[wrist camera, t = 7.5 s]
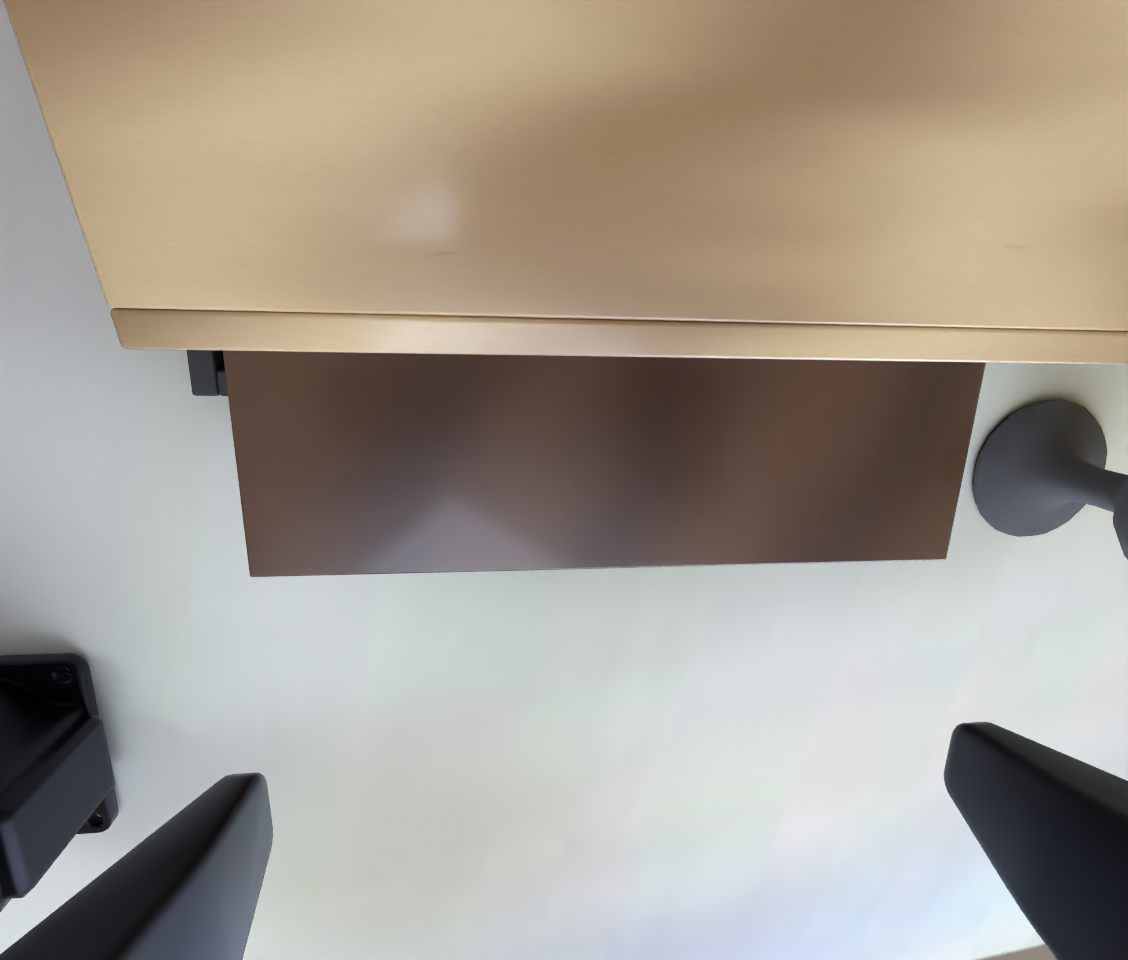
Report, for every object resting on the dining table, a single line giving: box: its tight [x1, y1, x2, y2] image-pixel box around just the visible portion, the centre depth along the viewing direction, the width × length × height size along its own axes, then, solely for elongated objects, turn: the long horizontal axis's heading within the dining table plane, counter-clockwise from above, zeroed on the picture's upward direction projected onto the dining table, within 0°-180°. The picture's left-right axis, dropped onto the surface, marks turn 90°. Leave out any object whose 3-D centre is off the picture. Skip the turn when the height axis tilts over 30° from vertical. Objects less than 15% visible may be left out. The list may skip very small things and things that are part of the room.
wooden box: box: [4, 0, 1128, 365], centre depth 9 cm, size 15×6×6 cm
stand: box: [223, 350, 986, 577], centre depth 17 cm, size 17×7×6 cm, turn 89°
